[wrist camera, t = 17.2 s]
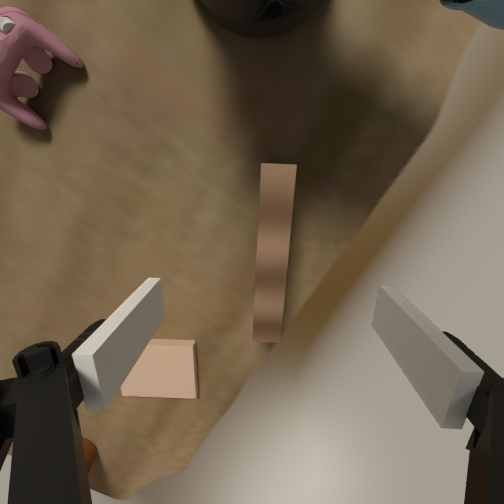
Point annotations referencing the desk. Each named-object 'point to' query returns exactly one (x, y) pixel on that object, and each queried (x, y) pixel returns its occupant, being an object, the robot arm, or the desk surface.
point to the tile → (164, 371)
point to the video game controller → (32, 51)
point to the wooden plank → (272, 249)
